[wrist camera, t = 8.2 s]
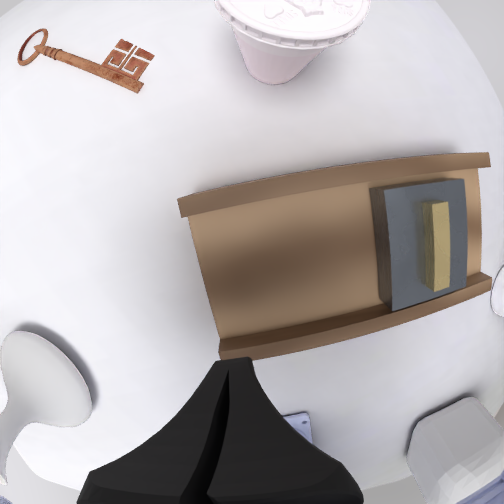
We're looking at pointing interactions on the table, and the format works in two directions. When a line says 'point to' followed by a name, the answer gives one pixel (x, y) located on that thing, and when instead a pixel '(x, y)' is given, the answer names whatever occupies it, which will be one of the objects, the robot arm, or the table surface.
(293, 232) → the wooden tray
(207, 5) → the table surface
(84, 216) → the table surface
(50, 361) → the flower in vase
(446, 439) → the soap bottle
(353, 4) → the smoothie
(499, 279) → the beer glass
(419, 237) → the lever cap
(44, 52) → the key
